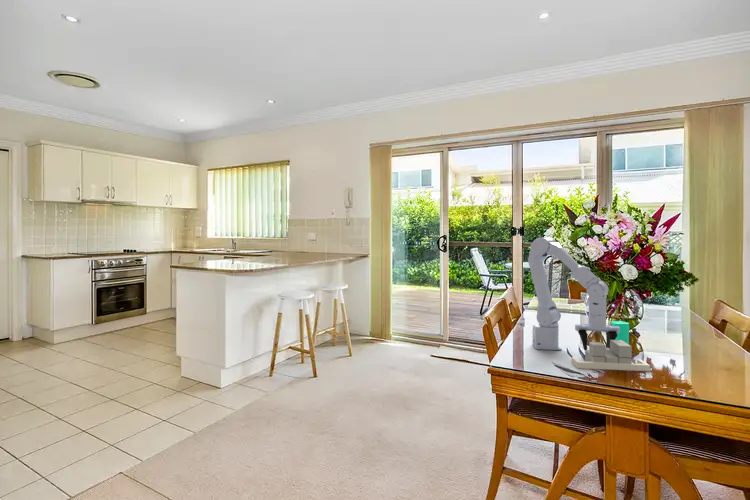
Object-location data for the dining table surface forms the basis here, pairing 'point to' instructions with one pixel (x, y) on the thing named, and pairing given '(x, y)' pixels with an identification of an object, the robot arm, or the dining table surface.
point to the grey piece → (612, 365)
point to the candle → (622, 330)
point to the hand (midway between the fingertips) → (596, 350)
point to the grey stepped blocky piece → (609, 352)
